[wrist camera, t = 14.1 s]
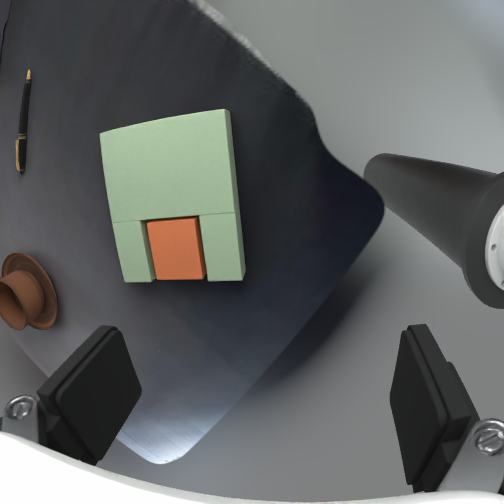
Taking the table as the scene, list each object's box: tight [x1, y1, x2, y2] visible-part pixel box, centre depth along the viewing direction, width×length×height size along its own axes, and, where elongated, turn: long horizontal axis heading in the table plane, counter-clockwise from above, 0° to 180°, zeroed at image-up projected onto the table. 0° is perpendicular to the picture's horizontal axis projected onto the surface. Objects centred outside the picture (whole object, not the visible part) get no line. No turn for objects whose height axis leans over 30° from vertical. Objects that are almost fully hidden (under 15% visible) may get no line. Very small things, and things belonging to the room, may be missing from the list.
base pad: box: [100, 109, 246, 282], centre depth 30 cm, size 13×16×2 cm
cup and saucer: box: [0, 253, 58, 330], centre depth 36 cm, size 12×12×6 cm
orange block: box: [147, 215, 207, 280], centre depth 32 cm, size 5×6×2 cm
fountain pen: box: [16, 68, 31, 175], centre depth 30 cm, size 14×1×2 cm, turn 172°
